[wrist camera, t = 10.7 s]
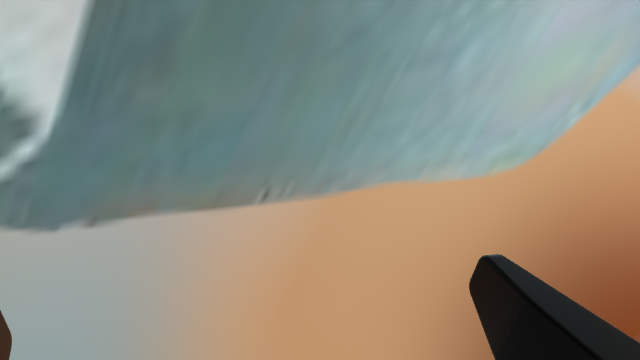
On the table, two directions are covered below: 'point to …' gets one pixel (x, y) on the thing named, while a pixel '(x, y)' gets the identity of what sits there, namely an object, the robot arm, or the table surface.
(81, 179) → the table surface
